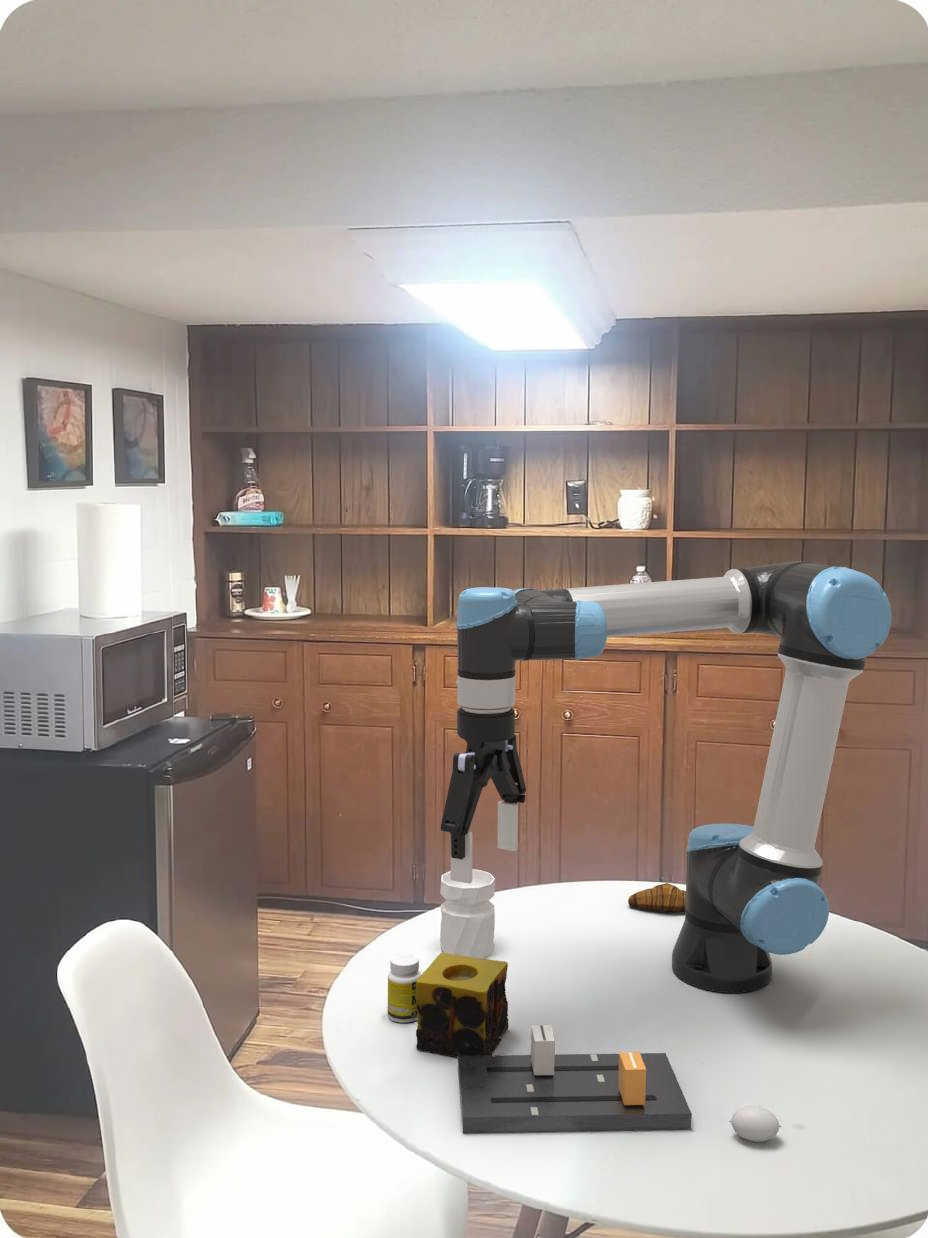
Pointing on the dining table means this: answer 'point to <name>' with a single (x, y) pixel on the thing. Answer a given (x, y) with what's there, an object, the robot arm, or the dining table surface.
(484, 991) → the candle
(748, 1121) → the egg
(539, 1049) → the fader
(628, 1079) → the fader
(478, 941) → the vase
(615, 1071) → the console
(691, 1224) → the dining table surface
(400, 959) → the supplement bottle
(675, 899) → the croissant
